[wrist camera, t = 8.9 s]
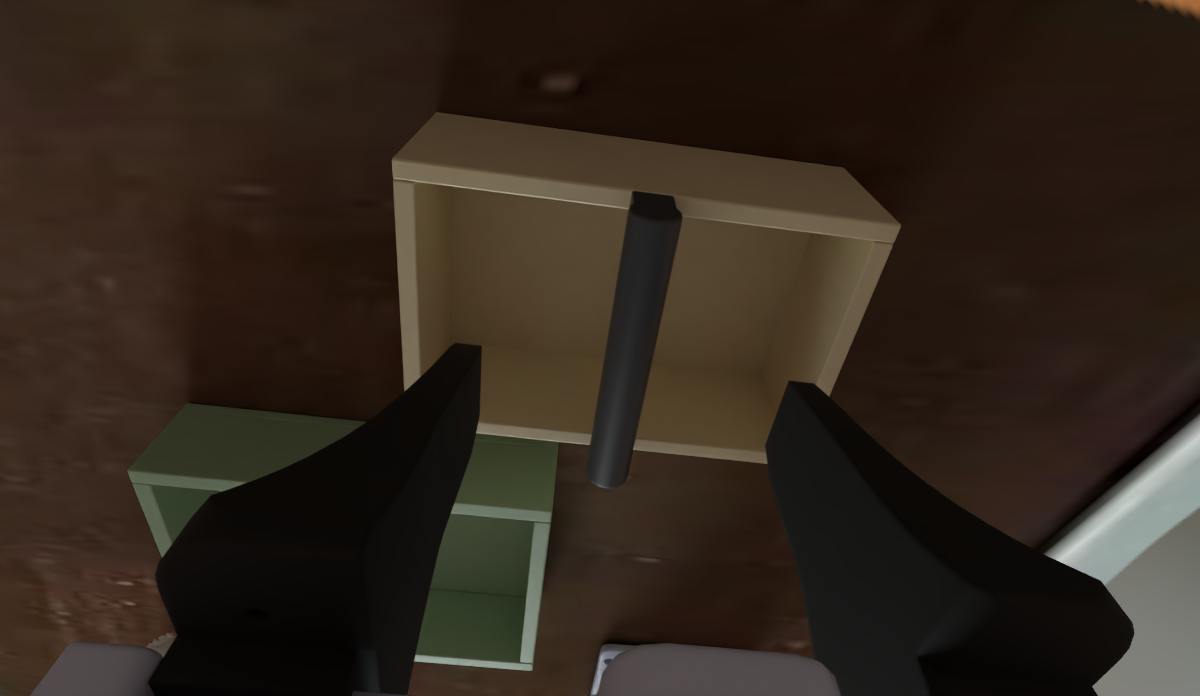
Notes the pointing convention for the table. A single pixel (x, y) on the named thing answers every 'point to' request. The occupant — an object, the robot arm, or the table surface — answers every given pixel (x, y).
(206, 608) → the robot arm
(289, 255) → the table surface
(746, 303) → the cream bin
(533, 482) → the sage bin
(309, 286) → the table surface
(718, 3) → the table surface
